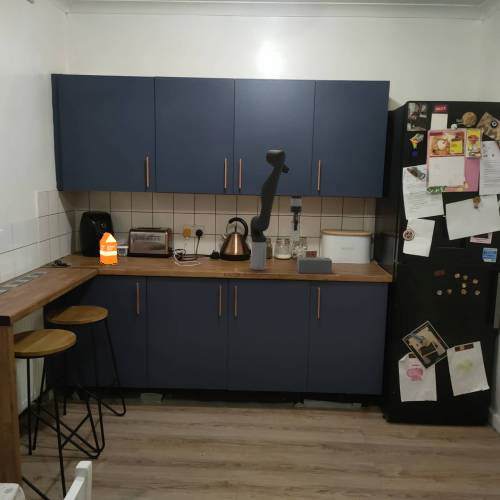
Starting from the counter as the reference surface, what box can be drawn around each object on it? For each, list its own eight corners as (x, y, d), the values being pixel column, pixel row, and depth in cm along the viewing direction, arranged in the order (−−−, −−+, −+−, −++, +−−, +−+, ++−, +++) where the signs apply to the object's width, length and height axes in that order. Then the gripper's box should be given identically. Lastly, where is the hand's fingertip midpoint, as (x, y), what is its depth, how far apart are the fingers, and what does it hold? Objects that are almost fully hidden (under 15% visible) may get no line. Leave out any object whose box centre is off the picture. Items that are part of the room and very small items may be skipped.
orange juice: (105, 265, 293) (104, 234, 290) (100, 263, 299) (99, 232, 296) (117, 263, 298) (116, 233, 294) (111, 261, 304) (111, 231, 301)
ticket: (290, 240, 315) (291, 220, 313) (289, 240, 317) (291, 220, 315) (298, 241, 316) (300, 221, 313) (298, 240, 317) (300, 221, 315)
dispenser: (298, 273, 279) (299, 259, 277) (296, 269, 289) (297, 256, 287) (331, 273, 279) (332, 259, 278) (328, 270, 289) (328, 256, 288)
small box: (305, 266, 299) (305, 250, 297) (301, 265, 304) (302, 249, 303) (316, 266, 301) (317, 250, 300) (313, 264, 306) (313, 249, 305)
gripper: (289, 204, 319) (288, 229, 322) (291, 205, 306) (290, 231, 308) (300, 204, 319) (299, 229, 322) (302, 205, 306) (302, 231, 308)
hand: (295, 230), depth 315 cm, fingers closed on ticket, 1 cm apart
